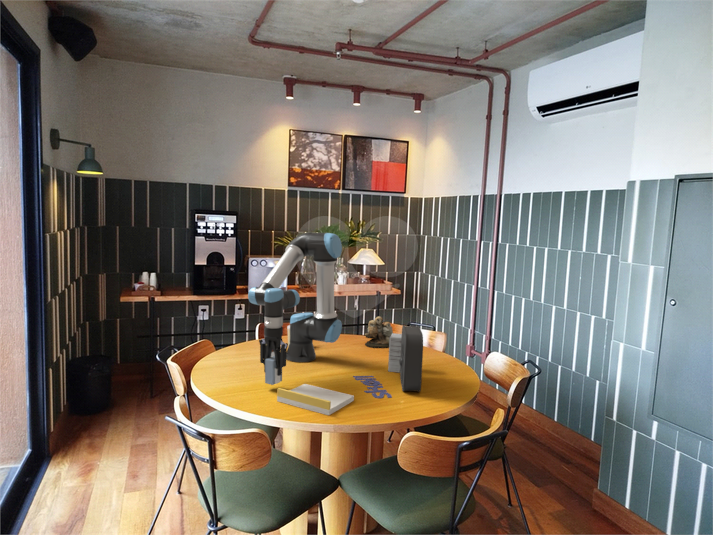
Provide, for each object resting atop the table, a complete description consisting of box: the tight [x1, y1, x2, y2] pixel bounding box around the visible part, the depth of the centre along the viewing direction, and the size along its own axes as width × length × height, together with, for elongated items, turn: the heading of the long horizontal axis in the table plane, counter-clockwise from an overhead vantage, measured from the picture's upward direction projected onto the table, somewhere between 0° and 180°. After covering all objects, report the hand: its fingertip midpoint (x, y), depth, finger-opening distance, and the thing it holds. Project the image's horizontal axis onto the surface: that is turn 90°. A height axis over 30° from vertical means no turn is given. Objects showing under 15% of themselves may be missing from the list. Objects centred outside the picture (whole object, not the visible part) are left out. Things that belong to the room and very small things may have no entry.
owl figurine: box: [364, 316, 394, 349], centre depth 278 cm, size 18×12×17 cm, turn 107°
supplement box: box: [387, 332, 402, 373], centre depth 234 cm, size 10×9×17 cm
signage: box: [352, 375, 392, 399], centre depth 209 cm, size 28×1×10 cm
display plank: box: [276, 383, 355, 416], centre depth 190 cm, size 24×18×5 cm
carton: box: [264, 356, 283, 386], centre depth 200 cm, size 6×4×10 cm
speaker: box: [399, 325, 424, 393], centre depth 211 cm, size 25×9×25 cm, turn 178°
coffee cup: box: [286, 324, 290, 348], centre depth 267 cm, size 9×9×12 cm
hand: (272, 381), depth 201 cm, fingers closed on carton, 4 cm apart
